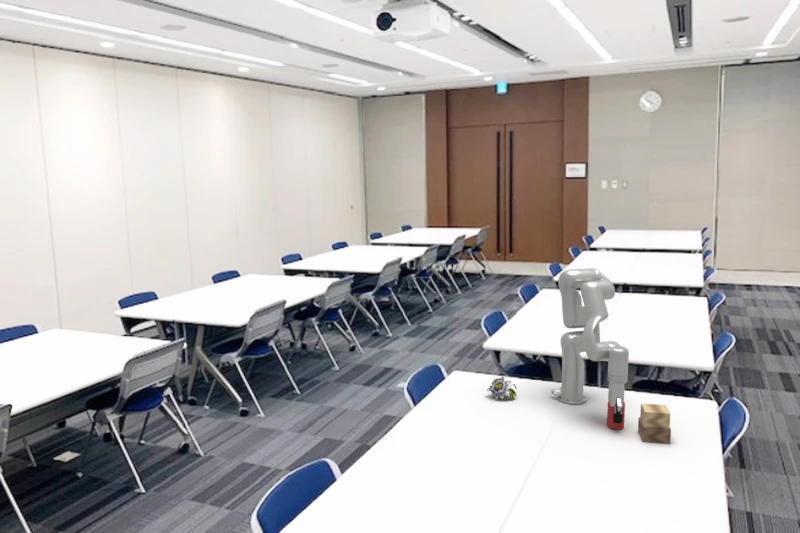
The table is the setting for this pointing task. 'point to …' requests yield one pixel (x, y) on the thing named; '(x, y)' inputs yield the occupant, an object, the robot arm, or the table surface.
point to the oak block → (655, 416)
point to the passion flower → (501, 388)
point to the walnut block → (653, 434)
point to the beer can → (610, 418)
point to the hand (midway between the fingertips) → (615, 418)
